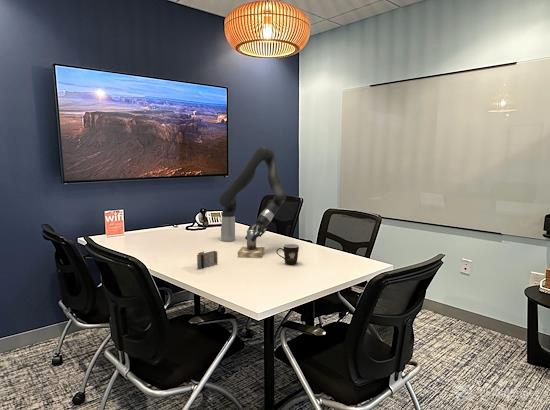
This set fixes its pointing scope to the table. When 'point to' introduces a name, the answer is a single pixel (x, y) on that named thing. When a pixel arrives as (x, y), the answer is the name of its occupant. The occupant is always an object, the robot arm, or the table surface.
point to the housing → (249, 236)
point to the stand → (251, 252)
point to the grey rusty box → (207, 259)
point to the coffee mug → (290, 253)
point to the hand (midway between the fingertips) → (249, 240)
